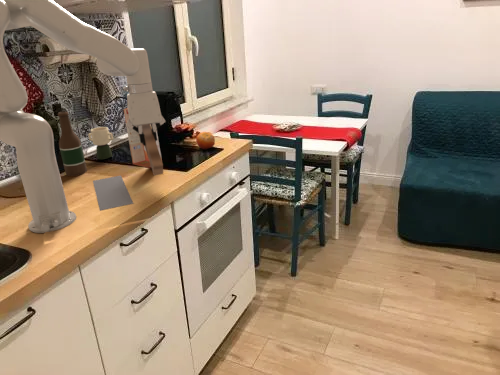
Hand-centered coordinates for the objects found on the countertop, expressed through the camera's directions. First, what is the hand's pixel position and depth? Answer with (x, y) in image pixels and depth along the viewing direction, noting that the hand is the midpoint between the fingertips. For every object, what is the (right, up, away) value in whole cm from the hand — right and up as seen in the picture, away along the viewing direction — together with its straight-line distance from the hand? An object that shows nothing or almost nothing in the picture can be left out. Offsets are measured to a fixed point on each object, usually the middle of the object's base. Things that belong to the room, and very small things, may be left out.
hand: (149, 143), depth 140 cm
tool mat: (-12, -17, -1) cm, 21 cm away
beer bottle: (-33, -10, +20) cm, 40 cm away
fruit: (+15, +2, +43) cm, 45 cm away
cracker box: (-3, -7, +13) cm, 15 cm away
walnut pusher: (0, -1, +1) cm, 2 cm away
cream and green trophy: (-28, -3, +37) cm, 47 cm away
